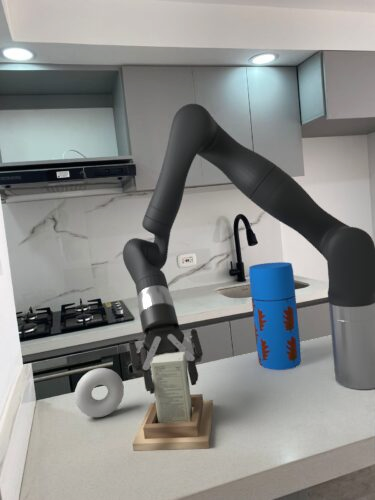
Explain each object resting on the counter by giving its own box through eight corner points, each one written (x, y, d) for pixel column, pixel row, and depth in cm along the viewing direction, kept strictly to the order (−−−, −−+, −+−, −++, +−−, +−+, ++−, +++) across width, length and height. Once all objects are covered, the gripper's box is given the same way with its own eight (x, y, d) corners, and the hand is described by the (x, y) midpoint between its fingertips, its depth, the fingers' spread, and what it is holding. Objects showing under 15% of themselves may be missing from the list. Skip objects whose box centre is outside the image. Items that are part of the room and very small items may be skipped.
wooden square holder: (213, 405, 73) (211, 390, 73) (208, 448, 60) (206, 429, 59) (151, 408, 75) (149, 393, 75) (133, 450, 61) (131, 432, 61)
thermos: (298, 352, 96) (290, 261, 95) (304, 369, 86) (294, 266, 84) (257, 354, 98) (248, 264, 97) (258, 370, 88) (248, 270, 86)
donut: (125, 405, 78) (119, 361, 77) (128, 413, 74) (122, 366, 74) (77, 418, 75) (71, 371, 74) (78, 426, 71) (71, 377, 71)
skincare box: (192, 412, 69) (186, 351, 69) (191, 425, 65) (184, 360, 64) (160, 414, 70) (154, 353, 69) (156, 426, 66) (149, 362, 65)
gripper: (122, 307, 72) (133, 388, 61) (191, 296, 75) (213, 371, 64) (124, 327, 77) (135, 403, 67) (188, 316, 80) (208, 387, 70)
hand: (173, 387), depth 66 cm, fingers open, 7 cm apart
